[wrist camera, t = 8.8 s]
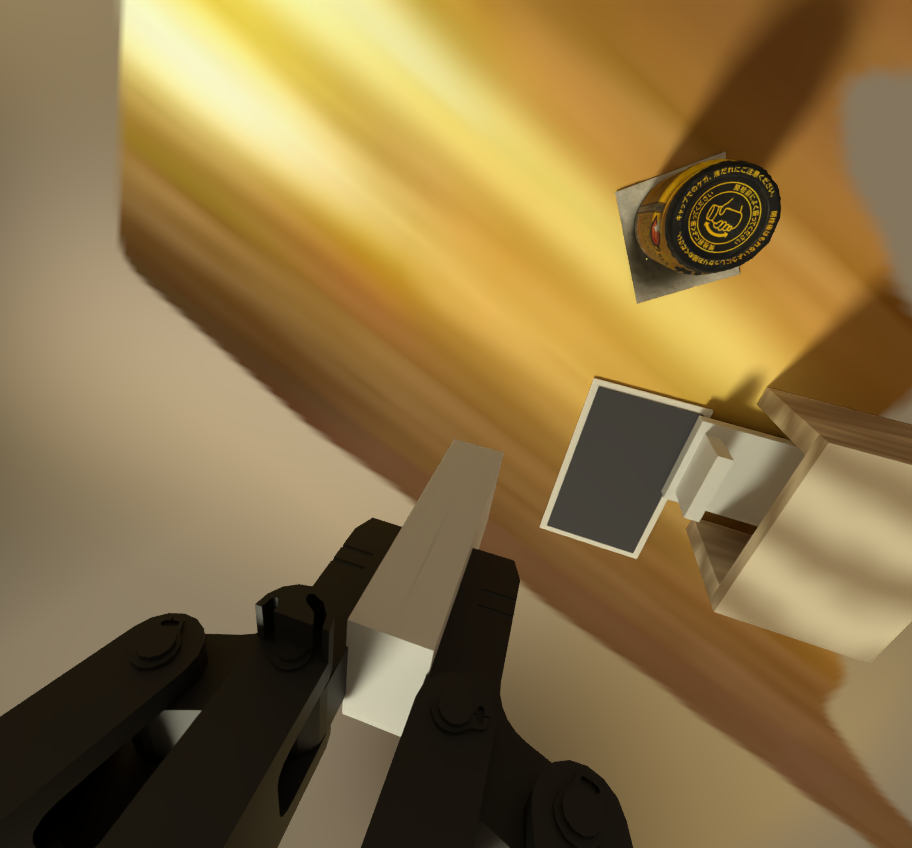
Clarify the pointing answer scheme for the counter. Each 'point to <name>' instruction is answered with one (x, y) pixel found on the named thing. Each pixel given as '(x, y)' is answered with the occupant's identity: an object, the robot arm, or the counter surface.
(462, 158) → the counter surface
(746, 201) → the condiment
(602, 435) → the pad
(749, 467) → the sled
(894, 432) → the tunnel
